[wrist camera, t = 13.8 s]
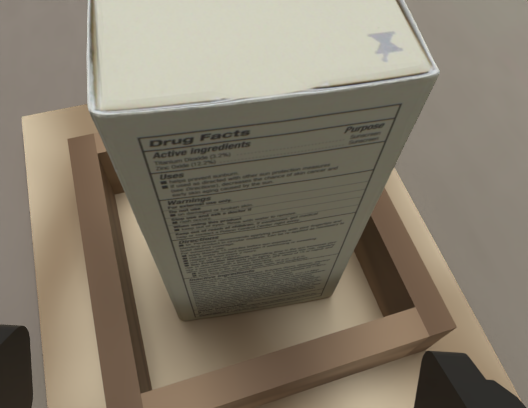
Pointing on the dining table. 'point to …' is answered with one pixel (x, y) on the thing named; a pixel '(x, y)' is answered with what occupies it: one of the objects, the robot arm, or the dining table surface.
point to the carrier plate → (228, 326)
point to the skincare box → (253, 135)
